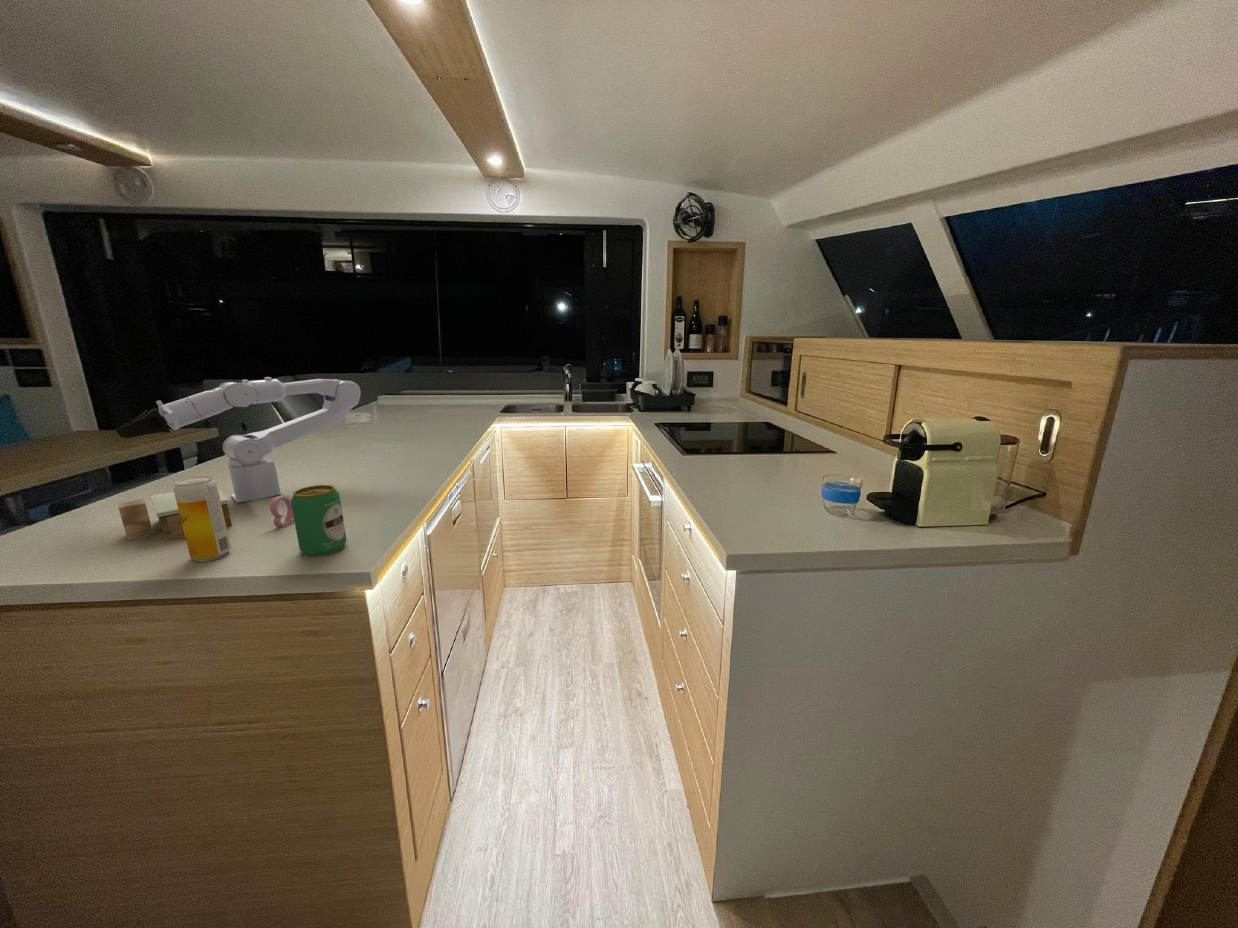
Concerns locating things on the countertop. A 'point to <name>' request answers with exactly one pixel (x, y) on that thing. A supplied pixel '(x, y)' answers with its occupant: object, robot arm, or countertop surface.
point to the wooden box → (174, 525)
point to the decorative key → (277, 516)
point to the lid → (174, 503)
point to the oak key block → (135, 519)
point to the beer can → (202, 518)
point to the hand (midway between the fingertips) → (120, 433)
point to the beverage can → (318, 520)
